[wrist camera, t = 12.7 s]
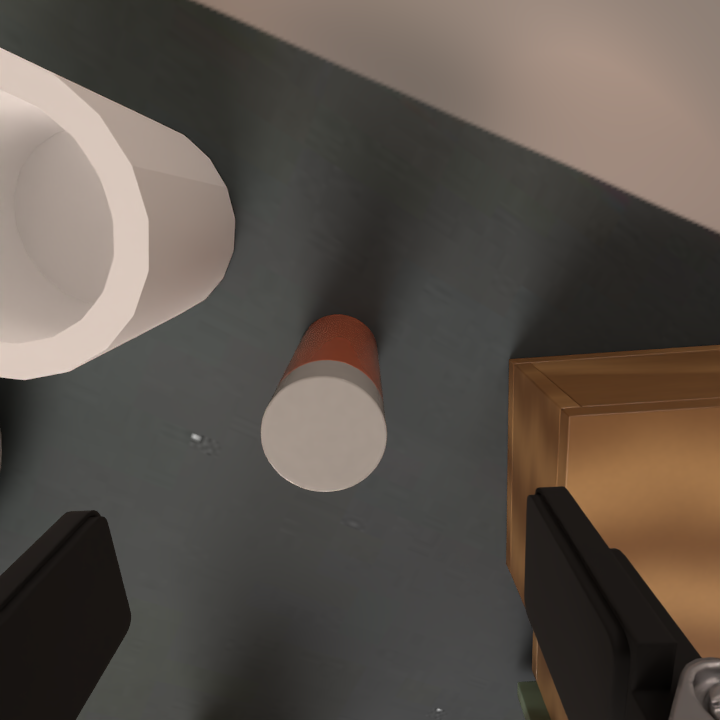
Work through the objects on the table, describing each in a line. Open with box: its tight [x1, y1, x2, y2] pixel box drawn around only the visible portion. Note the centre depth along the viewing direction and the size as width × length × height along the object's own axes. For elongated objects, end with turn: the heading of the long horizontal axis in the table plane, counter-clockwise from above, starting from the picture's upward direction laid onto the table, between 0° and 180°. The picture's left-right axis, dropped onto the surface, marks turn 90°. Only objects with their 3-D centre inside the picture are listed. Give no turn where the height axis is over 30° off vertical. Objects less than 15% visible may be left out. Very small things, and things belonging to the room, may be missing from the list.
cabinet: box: [506, 345, 720, 658], centre depth 25 cm, size 14×13×8 cm
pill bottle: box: [261, 314, 387, 492], centre depth 22 cm, size 4×4×11 cm
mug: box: [0, 48, 235, 380], centre depth 20 cm, size 14×10×11 cm
